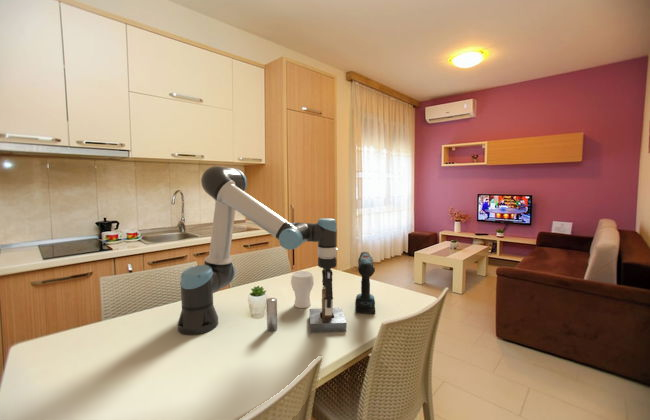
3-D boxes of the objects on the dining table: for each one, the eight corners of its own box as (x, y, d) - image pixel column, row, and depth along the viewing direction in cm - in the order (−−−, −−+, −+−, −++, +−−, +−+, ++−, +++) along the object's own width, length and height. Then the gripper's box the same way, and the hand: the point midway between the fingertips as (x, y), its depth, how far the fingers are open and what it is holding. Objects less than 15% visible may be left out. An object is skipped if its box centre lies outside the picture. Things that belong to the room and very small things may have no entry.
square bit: (322, 326, 120) (322, 292, 119) (321, 321, 124) (321, 289, 123) (332, 325, 120) (332, 292, 119) (331, 321, 124) (331, 288, 123)
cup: (303, 311, 134) (303, 278, 132) (286, 305, 140) (286, 274, 139) (318, 304, 142) (318, 273, 141) (301, 298, 149) (301, 269, 147)
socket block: (310, 332, 115) (310, 323, 114) (309, 316, 128) (309, 308, 128) (346, 331, 116) (346, 322, 115) (341, 315, 130) (341, 307, 129)
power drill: (372, 298, 149) (373, 249, 147) (376, 318, 127) (377, 261, 125) (355, 297, 150) (355, 249, 148) (355, 317, 127) (356, 260, 125)
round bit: (266, 331, 115) (266, 302, 114) (267, 326, 119) (267, 298, 118) (277, 331, 116) (276, 301, 114) (277, 326, 120) (277, 297, 118)
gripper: (340, 264, 108) (340, 321, 109) (333, 249, 132) (333, 296, 134) (319, 265, 107) (319, 322, 109) (316, 250, 132) (316, 296, 134)
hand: (327, 307), depth 121 cm, fingers open, 13 cm apart
